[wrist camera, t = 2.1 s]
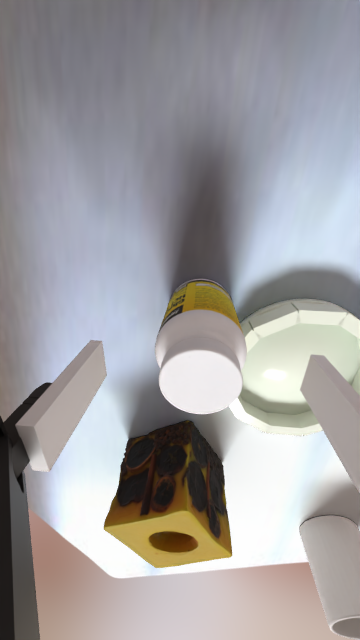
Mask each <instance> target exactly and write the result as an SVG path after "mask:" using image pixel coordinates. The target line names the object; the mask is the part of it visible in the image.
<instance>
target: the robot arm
mask: <svg viewBox="0 0 360 640" xmlns="http://www.w3.org/2000/svg"><path fill="white" fill-rule="evenodd" d="M106 376H107V373H106V366H105V358H104V351H103V344H102V341H94V340H90V342H89V343H88V344H87V345H86V346H85V347H84V348H83V349H82V351H81V352H80V353H79V354H78V355H77V356H76V357H75V358H74V360H73V361H72V362H71V363H70V364H69V365H68V366H67V367H66V369H65V370H64V371H63V372H62V373H61V374H60V375H59V376H58V377H57V379H56V380H55V381H54V382H53V383H44V384H43V385H41V386H40V387H38V388H36V389H35V390H34V391H33V392H32V393H31V394H30V396H29V397H28V398H27V399H26V400H25V401H24V402H23V404H21V405H20V406H19V407H18V408H17V409H16V410H15V411H14V412H13V413H12V414H11V415H10V416H9V417H8V419H7V420H6V421H5V422H4V423H3V421H2V418H1V416H0V640H40V634H39V623H38V612H37V601H36V590H35V579H34V569H33V557H32V546H31V536H30V525H29V514H28V503H27V492H26V481H25V474H24V471H23V470H24V468H25V467H26V466H27V464H28V463H29V462H30V464H31V467H32V470H36V471H46V472H50V470H51V468H52V467H53V465H54V463H55V462H56V460H57V458H58V457H59V455H60V453H61V452H62V450H63V448H64V447H65V445H66V443H67V441H68V440H69V438H70V436H71V435H72V433H73V431H74V430H75V428H76V426H77V425H78V423H79V421H80V420H81V418H82V416H83V415H84V413H85V411H86V409H87V408H88V406H89V404H90V403H91V401H92V399H93V398H94V396H95V394H96V393H97V391H98V389H99V388H100V386H101V384H102V382H103V381H104V379H105V377H106ZM300 391H301V392H302V394H303V396H304V398H305V399H306V401H307V403H308V405H309V406H310V408H311V410H312V412H313V413H314V415H315V417H316V419H317V420H318V422H319V424H320V426H321V427H322V429H323V431H324V433H325V434H326V436H327V438H328V440H329V441H330V443H331V445H332V446H333V448H334V450H335V452H336V453H337V455H338V457H339V459H340V460H341V462H342V464H343V466H344V467H345V469H346V471H347V473H348V474H349V476H350V478H351V480H352V481H353V483H354V485H355V487H356V488H357V490H358V492H359V494H360V395H359V394H358V393H357V392H356V391H355V390H354V389H353V387H352V386H351V385H350V384H349V383H348V382H347V381H346V380H345V378H344V377H343V376H342V375H341V374H340V373H339V372H338V371H337V369H336V368H335V367H334V366H333V365H332V364H331V363H330V362H329V360H328V359H327V358H326V357H325V356H324V355H311V356H310V359H309V362H308V366H307V369H306V372H305V375H304V378H303V382H302V385H301V388H300Z"/></svg>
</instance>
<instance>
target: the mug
mask: <svg viewBox="0 0 360 640" xmlns="http://www.w3.org/2000/svg"><path fill="white" fill-rule="evenodd" d="M299 532H300V535H301V539H302V542H303V545H304V548H305V552H306V555H307V558H308V561H309V564H310V568H311V571H312V574H313V577H314V580H315V583H316V587H317V590H318V593H319V596H320V600H321V603H322V606H323V609H324V613H325V616H326V619H327V622H328V625H329V628H330V630H331V631H332V632H334V633H335V634H337V635H339V636H342V637H346V638H350V639H356V640H360V531H359V529H358V527H357V525H356V524H355V523H354V522H353V521H352V520H350V519H348V518H345V517H341V516H333V515H326V516H319V517H314V518H312V519H309V520H307V521H305V522H304V523H303V524H302V525H301V526H300V531H299Z"/></svg>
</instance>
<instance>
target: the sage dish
mask: <svg viewBox="0 0 360 640" xmlns="http://www.w3.org/2000/svg"><path fill="white" fill-rule="evenodd" d="M240 326H241V329H242V331H243V334H244V337H245V341H246V347H247V356H246V361H245V364H244V366H243V368H242V370H241V372H242V377H243V385H242V390H241V392H240V394H239V396H238V398H237V399H236V400H235V401H234V402H233V403H232V404H231V405H230V406H229V407H230V408H231V410H232V412H233V413H234V415H235V417H237V418H238V419H239V420H241V421H243V422H245V423H247V424H249V425H251V426H253V427H255V428H257V429H258V430H260V431H262V432H264V433H265V432H266V433H270V434H282V435H294V436H302V435H303V436H305V435H308V434H312V433H316V432H320V431H323V429H322V427H321V426H320V424H319V422H318V420H317V419H316V417H315V415H314V413H313V412H312V410H311V408H310V406H309V405H308V403H307V401H306V399H305V398H304V396H303V394H302V392H301V391H300V388H301V385H302V382H303V378H304V375H305V372H306V369H307V366H308V362H309V359H310V356H311V355H324V356H325V357H326V358H327V359H328V360H329V362H330V363H331V364H332V365H333V366H334V367H335V368H336V369H337V371H338V372H339V373H340V374H341V375H342V376H343V377H344V378H345V380H346V381H347V382H348V383H349V384H350V385H351V386H352V387H353V389H354V390H355V391H356V392H357V393H358V394H359V395H360V320H359V319H358V318H357V317H356V316H354V315H353V314H352V313H350V312H349V311H347V310H345V309H344V308H342V307H340V306H338V305H336V304H333V303H331V302H327V301H323V300H318V299H309V298H306V299H291V300H285V301H281V302H277V303H274V304H271V305H268V306H266V307H264V308H262V309H260V310H258V311H256V312H254V313H253V314H251V315H249V316H248V317H247V318H245V319H244V320H243V321H242V322H241V323H240Z"/></svg>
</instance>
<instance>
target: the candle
mask: <svg viewBox="0 0 360 640" xmlns="http://www.w3.org/2000/svg"><path fill="white" fill-rule="evenodd" d="M125 450H126V452H125V453H124V455H125V458H123V462H122V464H121V472H120V480H119V486H118V489H117V493H116V496H115V497H114V499H113V501H112V503H111V507H110V511H109V513H108V515H107V517H106V519H105V524H104V530H105V531H107V532H108V533H110V534H111V535H113V536H114V537H115V538H117V539H118V540H119V541H121V542H122V543H123V544H125V545H126V546H128V547H129V548H130V549H132V550H133V551H134V552H135V553H137V554H138V555H139V556H140V557H142V558H143V559H144V560H145V561H147V562H148V563H150V564H151V565H153V566H154V567H155V568H163V567H171V566H179V565H184V564H190V563H196V562H202V561H209V560H214V559H221V558H229V557H231V556H232V547H231V537H230V528H229V521H228V514H227V509H226V498H225V490H224V486H225V480H224V473H223V465H222V463H221V461H220V459H219V458H218V457H217V454H216V453H215V452H213V449H212V448H211V446H209V444H208V443H207V442H206V439H205V438H203V436H202V435H201V434H200V432H199V431H198V430H197V428H196V427H195V426H194V423H193V422H191V421H189V420H187V421H184V422H181V423H178V424H176V425H171V426H168V427H165V428H162V429H158V430H155V431H153V432H150V433H149V435H147V436H142V437H138V438H134V439H130V440H128V442H127V446H126V449H125Z"/></svg>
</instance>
